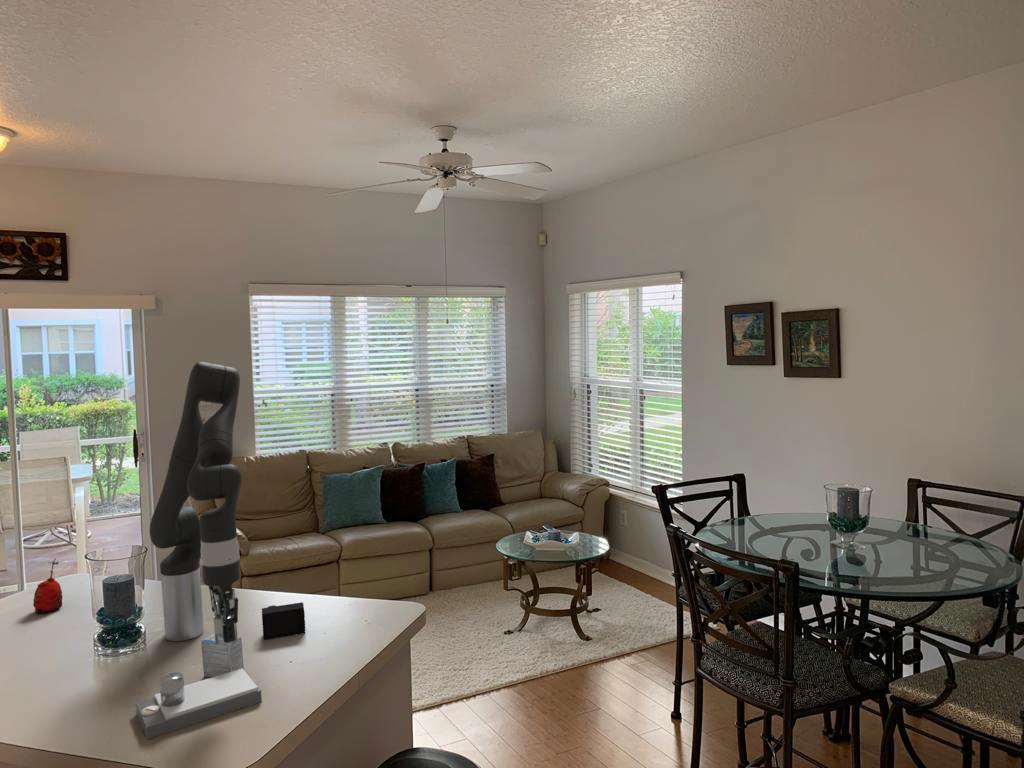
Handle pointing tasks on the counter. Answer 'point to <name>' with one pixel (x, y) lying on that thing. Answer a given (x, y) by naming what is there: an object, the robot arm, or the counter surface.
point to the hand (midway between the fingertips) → (226, 636)
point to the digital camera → (283, 620)
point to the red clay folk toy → (48, 595)
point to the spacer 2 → (221, 631)
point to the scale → (199, 703)
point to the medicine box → (221, 656)
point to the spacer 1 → (172, 689)
